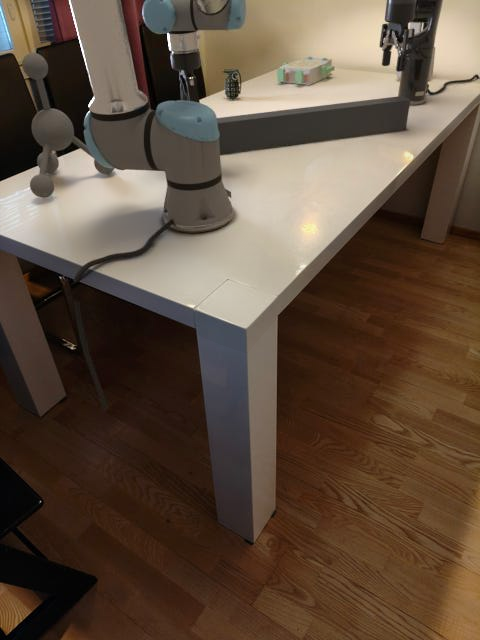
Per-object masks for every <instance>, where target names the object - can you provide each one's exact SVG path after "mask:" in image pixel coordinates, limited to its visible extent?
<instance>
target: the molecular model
mask: <svg viewBox="0 0 480 640" xmlns="http://www.w3.org/2000/svg"><path fill="white" fill-rule="evenodd" d="M21 67H22V71H23V72H24V74H25V75H26V76H27V77H28V78H30V79H32V80H34V81H35V82H36V87H37V89H38V90H37V91H38V94H39V97H40V100H41V105H42V107H43V109H40V111H38V112H36V114H35V115H34V116H33V119H32V122H31V133H32V136H33V138H34V139H35V141H36V142H37V144H38V145H39V146H41V147H42V152H41V153H39V155H38V156H37V159H36V164H37V166H38V169H39V173H38V174H35V175H34V176H32V178H31V179H30V181H29V188H30V191H31V192H32V194H33V195H34V196H36V197H38V198H41V199H45V198H48V197H50V196H52V195H53V193H54V191H55V183H54V181H53V180H52V178H51V177H50V176H48V175H47V174H52V173H55V172H56V171H57V170H58V169H59V165H60V162H59V161H60V160H59V159H58V157H57V155H56V154H54V153H53V152H58V151H63V150H65V149H67V148H68V147H69V146H70V145H71V144H74V145H75V146H77V148H79V149H80V150H82V151H83V152H85V153H86V154H87V155H88V156H89V157H91V158H93V157H92V155H91V154H90V152H89V150H88V147H87V145H86V143H84V142H83V141H81V140H80V139H79V138H78V137H76V136H75V128H74V125H73V122H72V121H71V119H70V118H69V116H68V115H67V114H65V113H64V112H63V111H61V110H59V109H56V108H51V105H50V102H49V98H48V95H47V91H46V87H45V83H44V80H43V79H44V78H46V76H47V75H48V72H49V65H48V62H47V60H46V59H45V58H44V57H43V56H42V55H41V54H40V53H37V52H29V53H27V54H25V55H24V57H23V58H22V61H21ZM93 159H94V158H93ZM93 165H94V168H95V170H96V171H98V172H99V173H101V174H103V175H109V174H111V173H112V172H114V170H116V169H115V168H107V167H104V166H102V165H100V164H99V163H98V162H97V161H96V160H95V159H94V160H93Z"/></svg>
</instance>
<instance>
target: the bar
mask: <svg viewBox="0 0 480 640" xmlns="http://www.w3.org/2000/svg"><path fill="white" fill-rule="evenodd" d="M410 106H411V105H410V99H408V98H405V97H403V96H398V95H397V96H391V97H383V98H382V97H381V98H374V99H365V100H358V101H357V100H356V101H348V102H347V101H346V102H340V103H332V104H331V103H330V104H323V105H315V106H307V107H299V108H291V109H281V110H273V111H264V112H256V113H248V114H241V115H230V116H224V117H217V124H218V130H219V135H220V137H219V145H220V156H221V155H227V154H234V153H235V154H236V153H243V152H249V151H258V150H266V149H274V148H282V147H289V146H295V145H302V144H303V145H305V144H310V143H318V142H326V141H334V140H341V139H342V140H343V139H348V138H357V137H363V136H364V137H365V136H372V135H380V134H388V133H394V132H401V131H406V130H407V126H408V125H407V124H408V118H409V112H410Z"/></svg>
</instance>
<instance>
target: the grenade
mask: <svg viewBox="0 0 480 640" xmlns="http://www.w3.org/2000/svg"><path fill="white" fill-rule="evenodd" d="M221 72H222V73H223V74H226V76H227V77H226V78H225V80H224V81H225V82H224V94H225V97H226V98H227V99H229V100H237V98H238V97H239V96H240V95H241V92H242V74H241V73H240V71H239V69H237V68H224V69H222V71H221ZM236 76H237V77H236Z"/></svg>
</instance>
